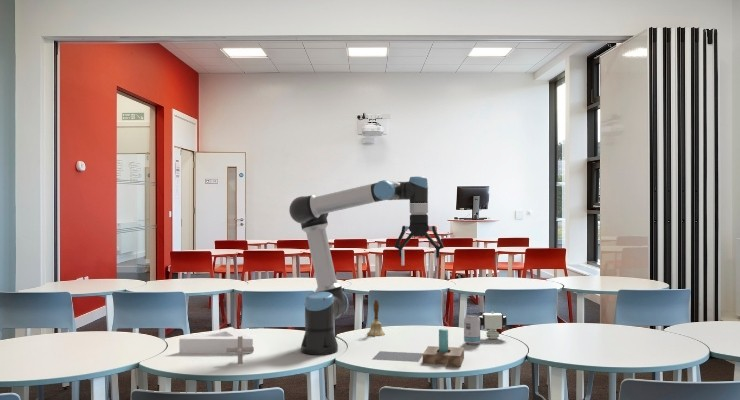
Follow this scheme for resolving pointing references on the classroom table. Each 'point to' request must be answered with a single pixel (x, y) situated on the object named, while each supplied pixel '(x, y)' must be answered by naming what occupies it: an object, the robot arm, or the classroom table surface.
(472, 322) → the beverage can
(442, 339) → the peg
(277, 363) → the classroom table surface
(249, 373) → the classroom table surface
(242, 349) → the pipe connector
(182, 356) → the classroom table surface
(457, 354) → the hole block
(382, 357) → the mat
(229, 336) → the triangle block
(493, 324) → the pneumatic valve
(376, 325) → the hand bell
